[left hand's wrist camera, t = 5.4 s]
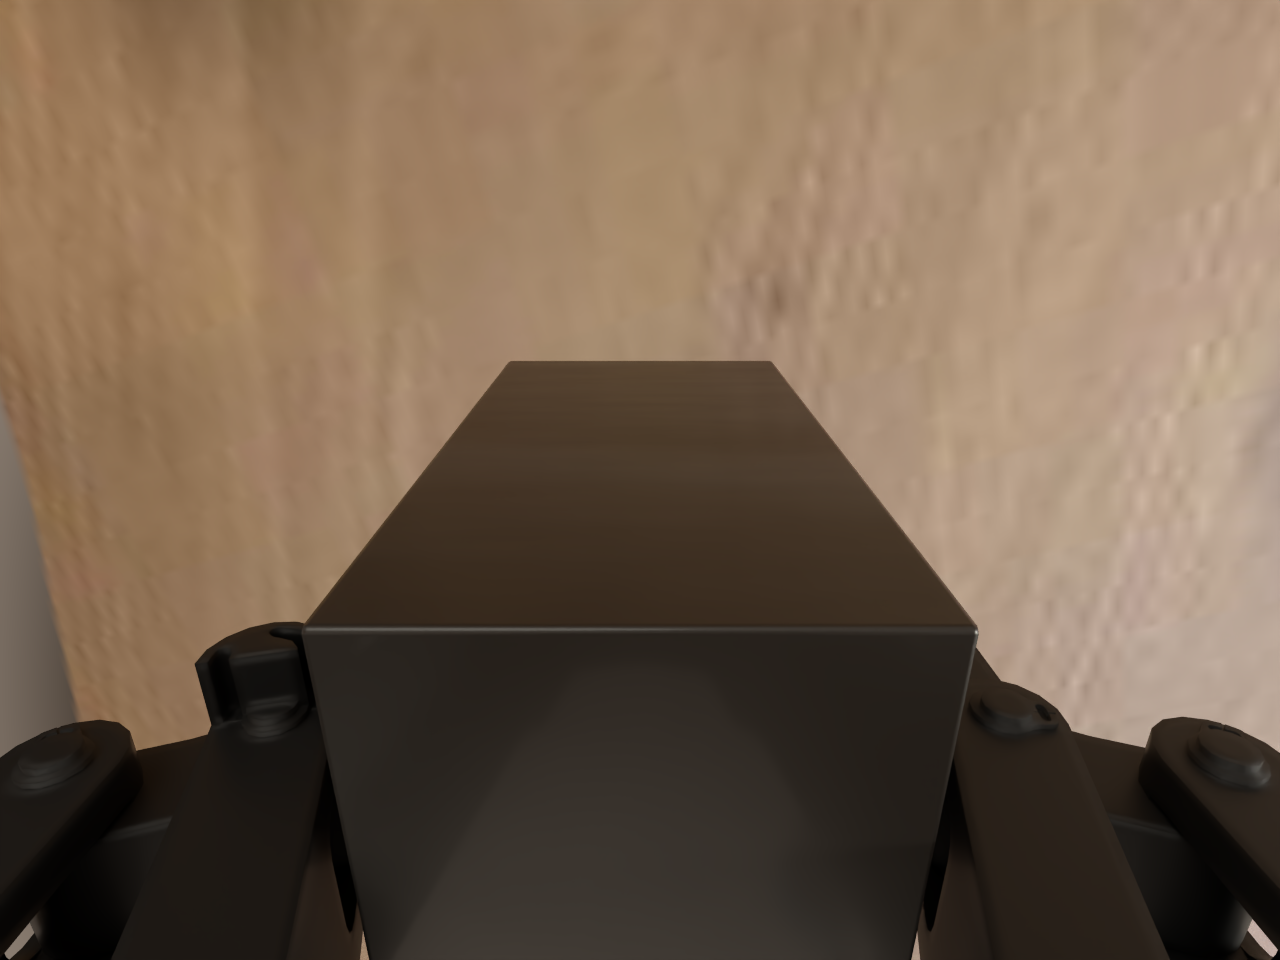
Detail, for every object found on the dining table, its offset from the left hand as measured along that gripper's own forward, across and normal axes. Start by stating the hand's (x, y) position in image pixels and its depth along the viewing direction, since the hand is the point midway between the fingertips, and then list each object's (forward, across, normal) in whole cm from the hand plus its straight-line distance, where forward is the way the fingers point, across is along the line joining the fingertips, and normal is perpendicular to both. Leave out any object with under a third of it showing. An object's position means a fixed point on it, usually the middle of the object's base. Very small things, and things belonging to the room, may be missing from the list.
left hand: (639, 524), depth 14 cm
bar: (0, 0, -9) cm, 9 cm away
